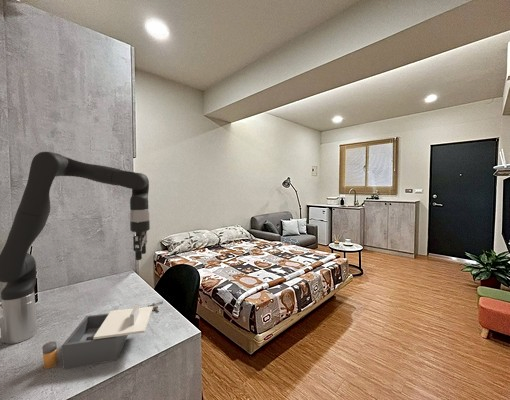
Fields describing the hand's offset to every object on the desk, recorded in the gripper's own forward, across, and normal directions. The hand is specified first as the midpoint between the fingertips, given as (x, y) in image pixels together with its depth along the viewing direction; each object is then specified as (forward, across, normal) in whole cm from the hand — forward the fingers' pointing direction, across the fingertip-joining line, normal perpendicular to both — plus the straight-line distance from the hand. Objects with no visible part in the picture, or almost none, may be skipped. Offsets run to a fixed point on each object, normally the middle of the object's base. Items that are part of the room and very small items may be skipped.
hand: (141, 256), depth 104 cm
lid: (+21, +14, -3) cm, 25 cm away
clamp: (+30, -8, +1) cm, 31 cm away
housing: (+29, +14, -12) cm, 35 cm away
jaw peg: (+29, +20, -25) cm, 43 cm away
